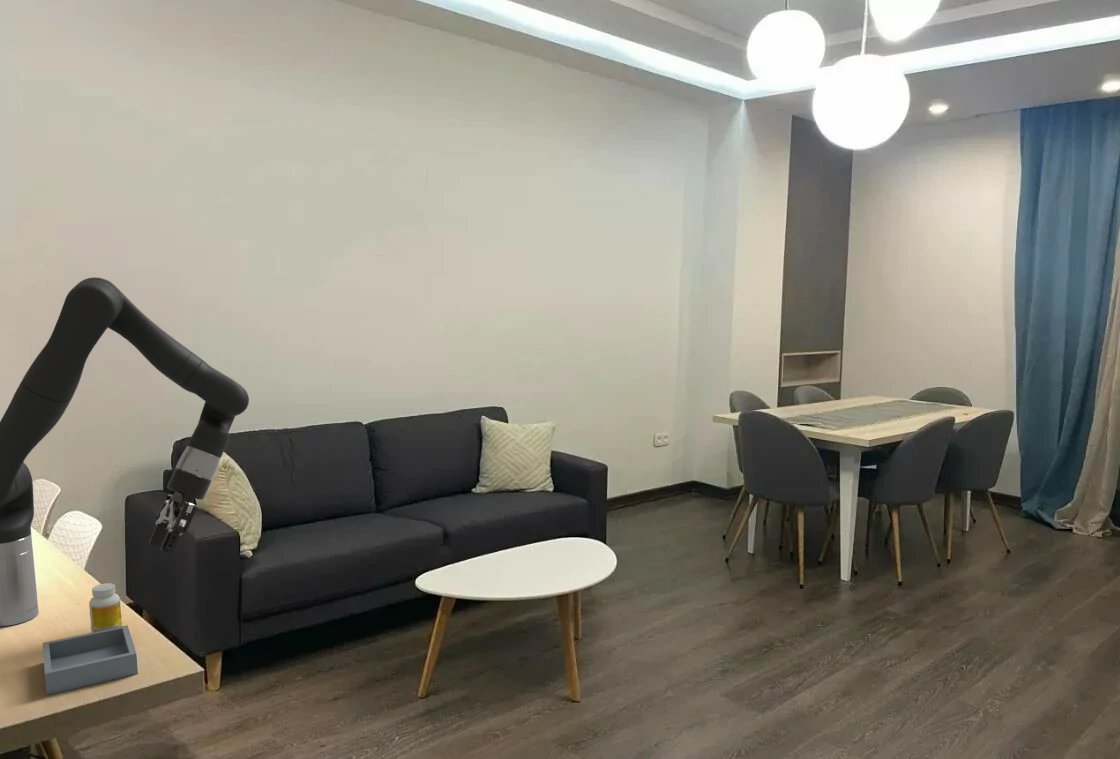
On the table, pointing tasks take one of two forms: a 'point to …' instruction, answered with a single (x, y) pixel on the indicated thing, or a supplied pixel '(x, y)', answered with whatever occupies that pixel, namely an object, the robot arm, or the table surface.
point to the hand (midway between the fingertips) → (159, 548)
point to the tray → (89, 659)
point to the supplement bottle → (105, 608)
